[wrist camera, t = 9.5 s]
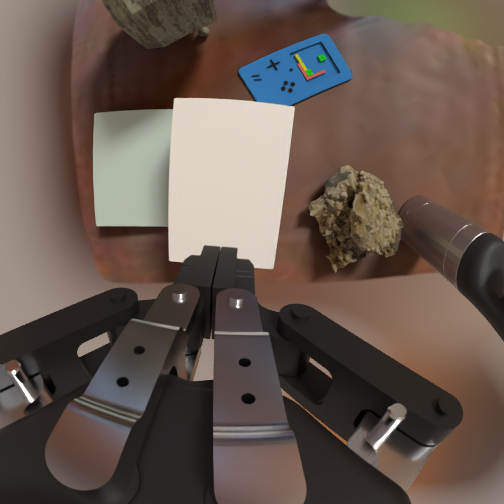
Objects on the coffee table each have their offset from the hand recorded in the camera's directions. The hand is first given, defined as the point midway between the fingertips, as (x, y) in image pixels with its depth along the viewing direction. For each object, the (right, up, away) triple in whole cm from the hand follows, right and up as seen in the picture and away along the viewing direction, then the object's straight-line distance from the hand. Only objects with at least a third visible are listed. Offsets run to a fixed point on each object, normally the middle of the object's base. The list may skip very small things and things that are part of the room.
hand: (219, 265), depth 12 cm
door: (-8, +12, +25) cm, 29 cm away
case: (-2, +12, +26) cm, 29 cm away
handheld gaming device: (+8, +26, +21) cm, 34 cm away
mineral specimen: (+16, +7, +29) cm, 34 cm away
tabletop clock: (-10, +35, +16) cm, 40 cm away
